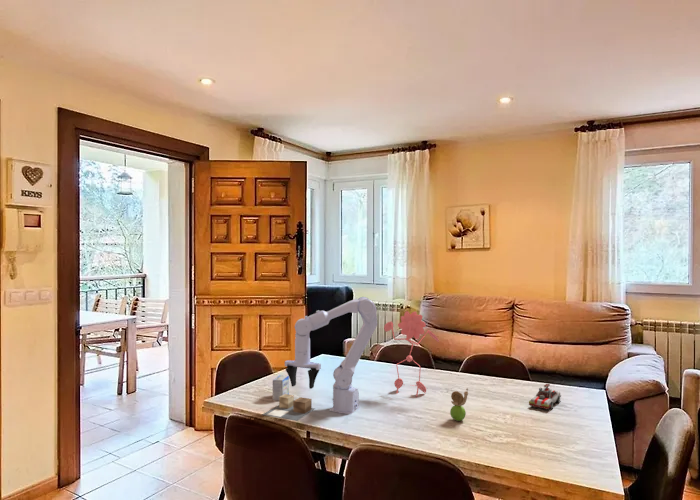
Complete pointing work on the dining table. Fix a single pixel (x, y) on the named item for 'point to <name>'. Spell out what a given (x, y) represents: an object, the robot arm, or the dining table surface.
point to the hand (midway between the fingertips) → (302, 386)
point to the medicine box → (280, 386)
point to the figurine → (410, 328)
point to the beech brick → (286, 401)
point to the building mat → (286, 413)
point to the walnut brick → (302, 405)
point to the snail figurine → (458, 405)
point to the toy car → (545, 398)
